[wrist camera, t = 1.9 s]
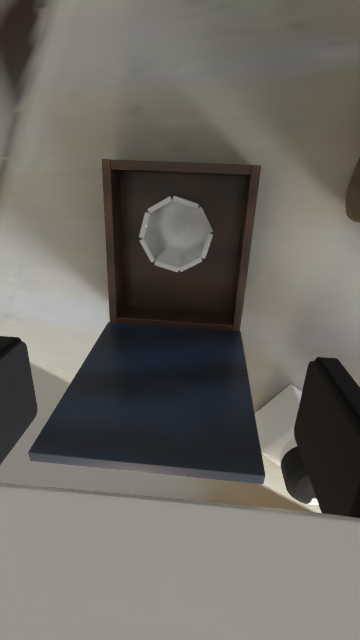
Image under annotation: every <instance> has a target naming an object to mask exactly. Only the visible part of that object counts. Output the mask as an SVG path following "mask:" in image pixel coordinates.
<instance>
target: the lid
mask: <svg viewBox="0 0 360 640" xmlns="http://www.w3.org/2000/svg"><path fill="white" fill-rule="evenodd" d="M28 453H29V457H30V460H31V461H38V462H48V463H58V464H68V465H78V466H88V467H98V468H108V469H118V470H127V471H137V472H147V473H158V474H168V475H178V476H187V477H197V478H208V479H217V480H227V481H237V482H247V483H257V484H263V483H264V479H265V471H264V466H263V460H262V454H261V448H260V442H259V437H258V431H257V425H256V419H255V413H254V407H253V402H252V396H251V390H250V384H249V378H248V373H247V367H246V361H245V355H244V349H243V344H242V338H241V332H240V331H228V330H214V329H200V328H186V327H172V326H158V325H144V324H130V323H116V322H108V324H107V325H106V327H105V329H104V330H103V332H102V333H101V335H100V337H99V338H98V340H97V342H96V343H95V345H94V346H93V348H92V350H91V351H90V353H89V355H88V356H87V358H86V359H85V361H84V363H83V364H82V366H81V368H80V369H79V371H78V372H77V374H76V376H75V377H74V379H73V381H72V382H71V384H70V385H69V387H68V389H67V390H66V392H65V394H64V395H63V397H62V398H61V400H60V402H59V403H58V405H57V406H56V408H55V410H54V411H53V413H52V415H51V416H50V418H49V420H48V421H47V423H46V424H45V426H44V428H43V429H42V431H41V433H40V434H39V436H38V438H37V439H36V441H35V442H34V444H33V446H32V447H31V449H30V450H29V452H28Z"/></svg>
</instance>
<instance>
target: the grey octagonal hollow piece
mask: <svg viewBox="0 0 360 640" xmlns="http://www.w3.org/2000/svg"><path fill="white" fill-rule="evenodd" d="M199 205H200V202H199V201H196V200H193V199H190V198H187V197H184V196H181V195H174V196H169V197H167V198H166V199H164V200H162V201H160V202H158V203H157V204H155V205H153V206H151V207H150V208H148V209H147V210H148V211H147V212H145V214H144V218H143V222H142V226H141V230H140V234H139V238H142V239H141V240H140V243H141V245H142V247H143V249H144V250H145V252H146V254H147V256H148V258H149V259H150V261H151V263H153V262H155V263H154V265H155V266H158V267H161V268H164V269H167V270H170V271H173V272H176V273H177V272H178V270H179V271H180V272H183V271H185V270H187V269H189V268H191V267H193V266H195V265H197V264H199V263H201V262H202V261H203V259H205V257H206V255H207V252H208V249H209V246H210V243H211V240H212V237H213V226H212V223H211V221H210V219H209V217H208V214H207V212H206V210H205V208H204V206H203V204H202V205H200V206H199Z"/></svg>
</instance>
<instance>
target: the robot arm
mask: <svg viewBox="0 0 360 640" xmlns="http://www.w3.org/2000/svg"><path fill="white" fill-rule="evenodd" d="M36 414H37V403H36V397H35V391H34V386H33V380H32V374H31V368H30V363H29V357H28V351H27V346H26V344H25V343H24V342H22V341H21V339H20V338H18V337H4V336H0V464H1V463H2V461H3V460H4V459H5V457H6V456H7V455H8V454H9V452H10V451H11V450H12V448H13V447H14V446H15V444H16V443H17V441H18V440H19V439H20V437H21V436H22V435H23V433H24V432H25V431H26V429H27V428H28V427H29V425H30V424H31V422H32V421H33V420H34V418H35V417H36ZM294 437H295V441H296V443H297V446H298V449H299V452H300V454H301V457H302V460H303V463H304V465H305V468H306V471H307V474H308V476H309V479H310V482H311V485H312V487H313V490H314V493H315V496H316V498H317V501H318V504H319V507H320V509H321V512H322V513H314V512H304V511H295V510H286V509H277V508H266V507H256V506H246V505H235V504H225V503H215V502H205V501H194V500H184V499H172V498H163V497H152V496H139V495H130V494H119V493H108V492H96V491H86V490H75V489H63V488H52V487H40V486H28V485H16V484H5V483H0V640H360V387H359V386H358V385H357V383H356V382H355V381H354V380H353V378H352V377H351V376H350V374H349V373H348V372H347V371H346V369H345V368H344V367H343V365H342V364H341V363H340V362H339V360H338V359H336V358H323V357H317V358H316V359H315V361H310V363H309V365H308V369H307V373H306V377H305V382H304V386H303V391H302V395H301V399H300V404H299V408H298V413H297V417H296V422H295V426H294Z"/></svg>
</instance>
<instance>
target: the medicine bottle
mask: <svg viewBox="0 0 360 640" xmlns="http://www.w3.org/2000/svg"><path fill="white" fill-rule="evenodd" d="M301 395H302V392H301V391H300V390H299V389H297V388H296V387H295V386H294V385H292V384H290V385H289V386H288V387H286V388H285V389H284V390H283V391H282V392H280V393H279V394H278V395H277V396H275V397H274V398H273V399H272V400H271V401H269V402H268V403H267V404H266V405H265V406H263V407H262V408H261V409H260V410H258V411H257V412H256V413H255V419H256V425H257V431H258V437H259V442H260V448H261V452H262V454H263V455H265V456H266V457H268V458H269V459H270V460H272V461H273V462H274V463H276V464H277V465H278V466H280V467H281V470H282V473H283V477H284V481H285V485H286V489H287V491H288V493H289V494H290V495H291V496H292V497H293V498H295V499H296V500H298V501H300V502H302V503H305V504H310V505H319V504H318V501H317V498H316V496H315V493H314V490H313V487H312V485H311V482H310V479H309V476H308V474H307V471H306V468H305V465H304V463H303V460H302V457H301V454H300V452H299V449H298V446H297V443H296V441H295V437H294V426H295V422H296V417H297V413H298V408H299V404H300V399H301Z"/></svg>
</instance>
